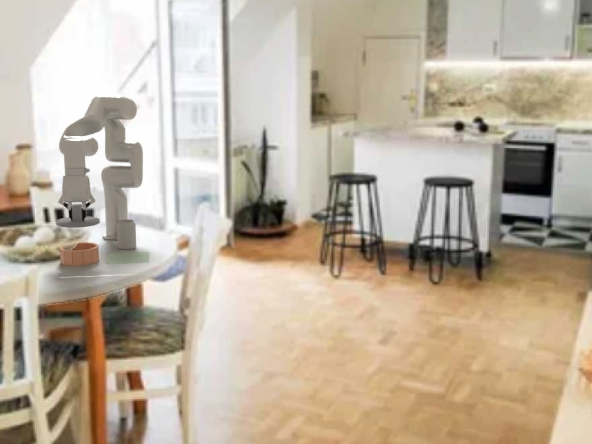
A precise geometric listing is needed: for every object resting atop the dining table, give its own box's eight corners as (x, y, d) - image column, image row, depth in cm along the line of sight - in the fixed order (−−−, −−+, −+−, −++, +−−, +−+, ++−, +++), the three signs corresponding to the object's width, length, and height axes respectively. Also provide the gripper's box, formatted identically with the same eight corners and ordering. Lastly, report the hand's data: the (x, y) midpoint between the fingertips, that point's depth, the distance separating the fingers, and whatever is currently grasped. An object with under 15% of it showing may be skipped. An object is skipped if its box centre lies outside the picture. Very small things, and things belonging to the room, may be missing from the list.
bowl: (63, 257, 286) (62, 242, 285) (100, 256, 289) (99, 241, 288) (58, 267, 273) (57, 251, 272) (97, 265, 275) (96, 250, 274)
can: (131, 251, 297) (130, 222, 294) (114, 250, 298) (113, 221, 296) (139, 247, 304) (138, 219, 302) (122, 246, 306) (121, 218, 303)
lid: (58, 219, 284) (57, 201, 282) (101, 218, 287) (100, 200, 285) (53, 228, 268) (52, 209, 267) (98, 226, 271) (97, 208, 270)
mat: (108, 254, 292) (108, 253, 292) (149, 252, 295) (149, 251, 295) (105, 264, 277) (105, 263, 277) (148, 263, 280) (148, 262, 280)
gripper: (98, 170, 279) (101, 217, 282) (53, 170, 276) (56, 218, 279) (97, 172, 271) (99, 221, 275) (50, 173, 268) (53, 222, 272)
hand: (77, 219), depth 277 cm, fingers closed on lid, 3 cm apart
